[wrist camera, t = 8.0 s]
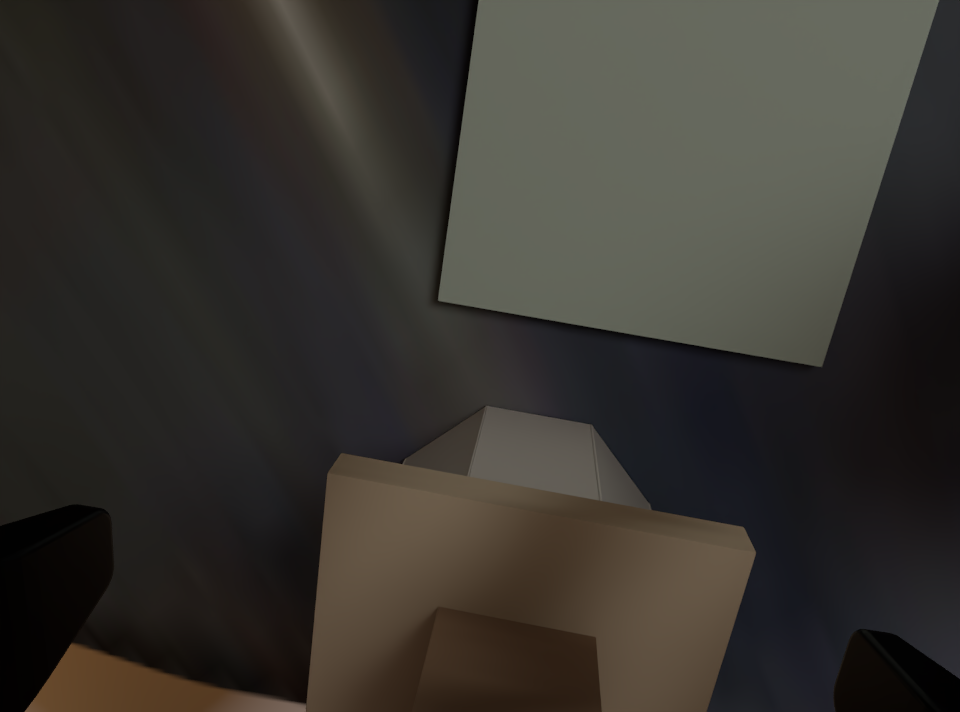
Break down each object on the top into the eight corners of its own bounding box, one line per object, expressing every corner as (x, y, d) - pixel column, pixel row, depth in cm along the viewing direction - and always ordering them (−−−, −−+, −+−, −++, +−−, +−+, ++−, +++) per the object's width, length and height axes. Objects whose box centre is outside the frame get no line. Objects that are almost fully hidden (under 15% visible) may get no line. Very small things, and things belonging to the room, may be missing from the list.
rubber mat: (954, -71, 17) (962, -75, 16) (816, 362, 20) (821, 367, 20) (498, -134, 17) (497, -140, 17) (439, 297, 21) (437, 300, 20)
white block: (667, 437, 21) (708, 547, 15) (613, 648, 24) (631, 810, 18) (413, 391, 22) (362, 482, 16) (385, 603, 24) (332, 748, 18)
